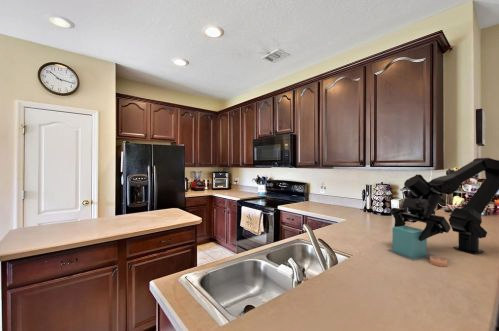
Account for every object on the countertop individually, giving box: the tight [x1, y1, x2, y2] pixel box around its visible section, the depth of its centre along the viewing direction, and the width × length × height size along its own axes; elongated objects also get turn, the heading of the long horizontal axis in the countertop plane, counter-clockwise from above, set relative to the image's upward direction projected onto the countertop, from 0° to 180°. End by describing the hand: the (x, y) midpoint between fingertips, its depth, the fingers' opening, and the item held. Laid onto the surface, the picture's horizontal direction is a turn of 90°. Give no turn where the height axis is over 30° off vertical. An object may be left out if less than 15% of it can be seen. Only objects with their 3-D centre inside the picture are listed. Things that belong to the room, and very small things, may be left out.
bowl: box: [429, 255, 448, 268], centre depth 74 cm, size 4×4×2 cm
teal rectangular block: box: [392, 225, 428, 259], centre depth 83 cm, size 7×7×9 cm
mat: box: [387, 248, 437, 262], centre depth 84 cm, size 12×10×1 cm
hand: (406, 236), depth 83 cm, fingers open, 9 cm apart
